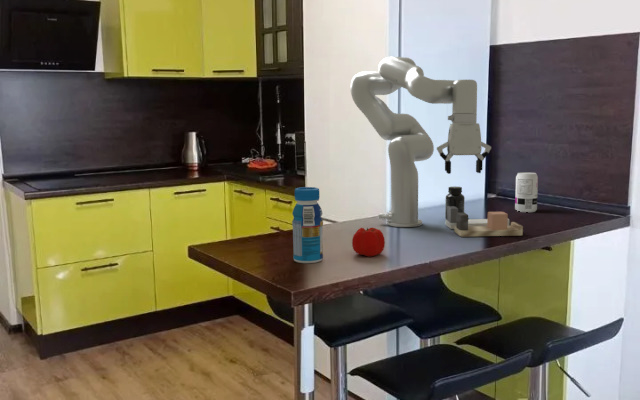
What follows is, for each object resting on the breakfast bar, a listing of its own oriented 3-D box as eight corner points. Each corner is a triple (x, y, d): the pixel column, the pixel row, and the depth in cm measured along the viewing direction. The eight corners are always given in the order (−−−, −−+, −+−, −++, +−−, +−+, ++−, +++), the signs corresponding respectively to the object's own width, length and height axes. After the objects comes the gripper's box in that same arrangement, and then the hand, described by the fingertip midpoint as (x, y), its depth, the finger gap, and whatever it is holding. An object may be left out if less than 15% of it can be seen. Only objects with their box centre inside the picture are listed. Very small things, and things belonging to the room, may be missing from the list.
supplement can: (510, 210, 250) (511, 172, 248) (528, 208, 253) (529, 171, 251) (523, 213, 243) (524, 174, 240) (541, 211, 245) (542, 173, 243)
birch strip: (460, 236, 200) (460, 215, 199) (454, 231, 208) (454, 211, 207) (522, 235, 201) (523, 214, 200) (514, 230, 209) (514, 210, 208)
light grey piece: (450, 228, 213) (451, 209, 212) (445, 224, 221) (445, 205, 220) (509, 227, 214) (509, 208, 213) (501, 223, 221) (502, 204, 220)
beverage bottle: (286, 261, 172) (285, 189, 169) (304, 255, 179) (303, 185, 176) (312, 265, 167) (310, 191, 164) (329, 258, 174) (328, 187, 171)
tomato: (375, 250, 184) (375, 225, 183) (389, 256, 176) (389, 230, 175) (346, 253, 181) (346, 227, 180) (359, 260, 173) (359, 233, 172)
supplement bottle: (460, 217, 236) (461, 185, 234) (466, 220, 229) (467, 188, 227) (442, 218, 235) (443, 186, 233) (448, 221, 228) (449, 188, 226)
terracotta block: (491, 229, 202) (492, 214, 201) (487, 226, 207) (487, 211, 206) (507, 229, 202) (507, 214, 201) (502, 226, 207) (502, 211, 206)
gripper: (439, 119, 195) (439, 174, 197) (495, 118, 195) (493, 173, 198) (434, 119, 202) (434, 172, 205) (487, 118, 203) (486, 171, 205)
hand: (463, 172), depth 201 cm, fingers open, 9 cm apart
